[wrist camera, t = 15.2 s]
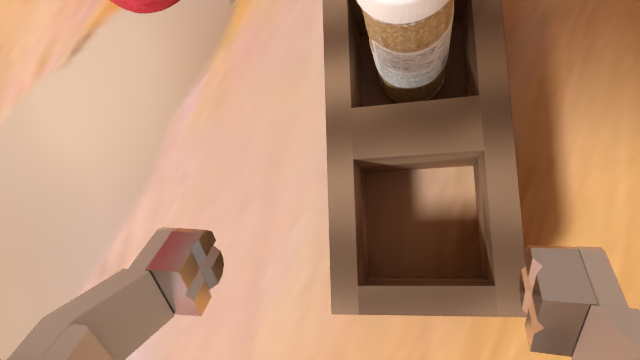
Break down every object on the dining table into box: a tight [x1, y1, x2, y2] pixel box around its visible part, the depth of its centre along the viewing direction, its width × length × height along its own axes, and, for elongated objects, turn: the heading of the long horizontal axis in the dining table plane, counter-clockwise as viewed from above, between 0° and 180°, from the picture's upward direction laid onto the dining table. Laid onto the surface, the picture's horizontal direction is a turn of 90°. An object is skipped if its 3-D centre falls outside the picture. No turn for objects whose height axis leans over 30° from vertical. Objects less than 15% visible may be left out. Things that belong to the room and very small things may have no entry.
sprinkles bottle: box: [357, 0, 454, 103], centre depth 22 cm, size 5×4×14 cm
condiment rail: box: [323, 0, 527, 317], centre depth 26 cm, size 20×10×5 cm, turn 2°
